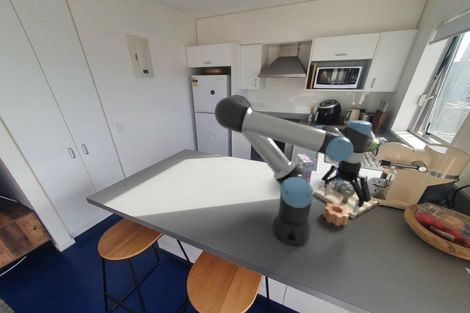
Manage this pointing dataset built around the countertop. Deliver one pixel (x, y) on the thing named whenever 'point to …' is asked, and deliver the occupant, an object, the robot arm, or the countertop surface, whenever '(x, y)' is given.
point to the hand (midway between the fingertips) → (340, 202)
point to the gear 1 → (344, 187)
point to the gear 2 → (336, 214)
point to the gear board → (340, 197)
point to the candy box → (305, 164)
